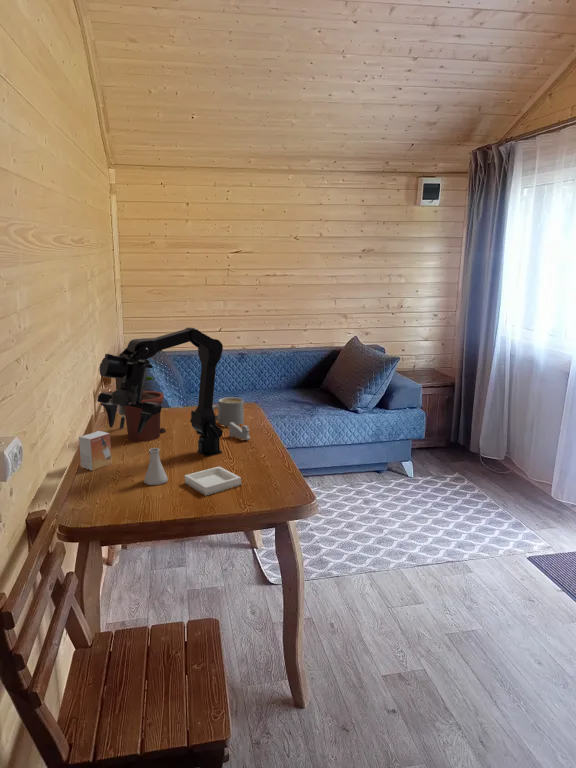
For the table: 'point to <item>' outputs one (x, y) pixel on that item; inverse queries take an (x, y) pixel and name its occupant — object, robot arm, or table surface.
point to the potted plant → (133, 417)
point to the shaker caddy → (212, 480)
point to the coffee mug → (230, 411)
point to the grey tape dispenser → (239, 431)
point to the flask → (155, 469)
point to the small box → (95, 450)
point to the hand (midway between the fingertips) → (124, 430)
